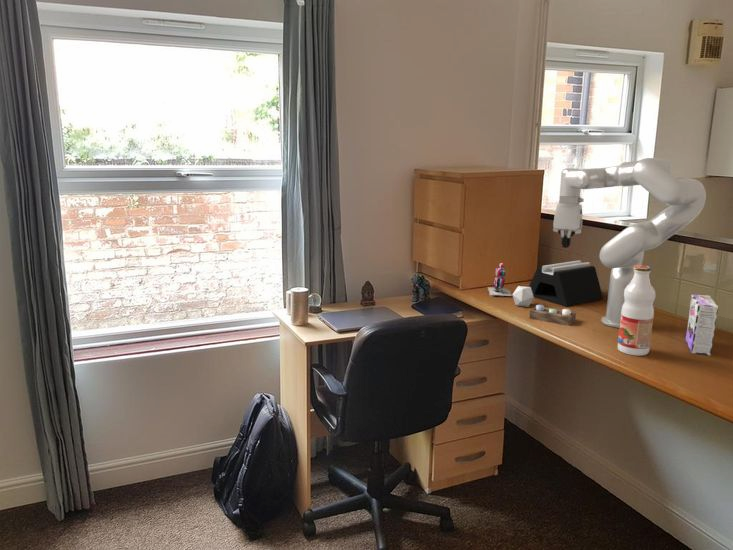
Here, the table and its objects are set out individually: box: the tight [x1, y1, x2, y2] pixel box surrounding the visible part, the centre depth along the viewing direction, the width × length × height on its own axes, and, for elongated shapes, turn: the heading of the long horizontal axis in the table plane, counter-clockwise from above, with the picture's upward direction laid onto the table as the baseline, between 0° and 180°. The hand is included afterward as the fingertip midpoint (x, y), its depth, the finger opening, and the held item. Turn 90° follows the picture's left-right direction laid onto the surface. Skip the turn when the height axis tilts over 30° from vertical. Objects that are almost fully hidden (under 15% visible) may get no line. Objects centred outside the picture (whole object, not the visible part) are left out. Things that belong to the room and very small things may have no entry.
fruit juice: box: [617, 264, 656, 357], centre depth 183 cm, size 9×9×28 cm
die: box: [511, 285, 535, 308], centre depth 237 cm, size 8×9×10 cm
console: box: [529, 306, 577, 326], centre depth 219 cm, size 15×8×3 cm, turn 55°
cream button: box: [561, 308, 572, 316], centre depth 216 cm, size 3×3×4 cm
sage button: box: [549, 308, 558, 314], centre depth 219 cm, size 3×3×4 cm
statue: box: [487, 262, 513, 298], centre depth 254 cm, size 11×9×15 cm
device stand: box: [528, 260, 604, 308], centre depth 249 cm, size 22×22×15 cm
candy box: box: [685, 293, 719, 356], centre depth 188 cm, size 14×6×16 cm, turn 159°
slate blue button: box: [535, 304, 545, 311], centre depth 222 cm, size 3×3×4 cm
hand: (565, 247), depth 228 cm, fingers closed
